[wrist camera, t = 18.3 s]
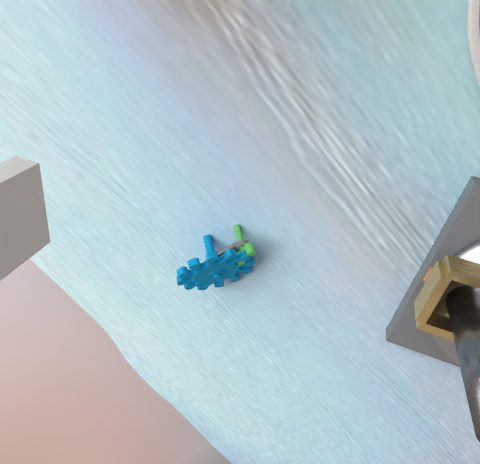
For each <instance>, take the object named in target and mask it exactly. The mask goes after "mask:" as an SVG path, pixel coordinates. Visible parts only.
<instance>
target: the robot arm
mask: <svg viewBox="0 0 480 464" xmlns="http://www.w3.org/2000/svg"><path fill="white" fill-rule="evenodd" d="M49 242H50V237H49V230H48V223H47V216H46V209H45V201H44V194H43V187H42V180H41V173H40V166H39V163H38V162H34V161H31V160H27V159H24V158H20V157H17V156H15V157H13V158H11V159H9V160H7V161H5V162H3V163H1V164H0V280H2V279H3V278H4V277H6V276H7V275H8V274H10V273H11V272H12V271H13V270H15V269H16V268H17V267H18V266H20V265H21V264H22V263H24V262H25V261H26V260H27V259H29V258H30V257H31V256H33V255H34V254H35V253H37V252H38V251H39V250H40V249H42V248H43V247H44V246H46V245H47V244H48V243H49ZM479 380H480V379H479Z"/></svg>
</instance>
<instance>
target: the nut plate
mask: <svg viewBox="0 0 480 464" xmlns="http://www.w3.org/2000/svg"><path fill="white" fill-rule="evenodd" d="M479 239H480V179H479V178H476V177H471V179H470V180H469V182H468V184H467V186H466V187H465V189H464V191H463V193H462V195H461V196H460V198H459V200H458V202H457V204H456V205H455V207H454V209H453V211H452V212H451V214H450V216H449V218H448V220H447V221H446V223H445V225H444V227H443V229H442V230H441V232H440V234H439V236H438V238H437V239H436V241H435V243H434V245H433V246H432V248H431V250H430V252H429V254H428V255H427V257H426V259H425V261H424V263H423V264H422V266H421V268H420V270H419V271H418V273H417V275H416V277H415V279H414V280H413V282H412V284H411V286H410V288H409V289H408V291H407V293H406V295H405V296H404V298H403V300H402V302H401V304H400V305H399V307H398V309H397V311H396V313H395V314H394V316H393V318H392V320H391V322H390V323H389V325H388V327H387V329H386V341H389V342H392V343H394V344H397V345H400V346H403V347H406V348H408V349H411V350H414V351H417V352H420V353H422V354H425V355H428V356H431V357H434V358H436V359H439V360H442V361H445V362H448V363H450V364H453V365H456V366H459V367H460V365H458V364H456V363H455V362H454V361H452V360H451V359H450V358H449V357H448V356H447V355H446V354H445V353H444V352H443V351H442V350H441V349H440V348H439V346H438V345H437V343H436V342H435V340H434V339H433V336H432V334H431V333H428V332H425V331H422V330H419V329H417V328H416V319H415V309H414V302H415V300H416V298H417V296H418V294H419V292H420V291H421V289H422V287H423V285H424V283H425V282H426V280H427V278H428V276H429V274H430V273H431V271H432V269H433V267H434V265H435V264H436V262H437V260H439V261H443V260H444V258H445V256H446V254H449V255H453V256H454V255H455V254H456V253H457V252H459V251H460V250H462V249H463V248H465V247H466V246H468V245H470V244H472V243H473V242H475V241H477V240H479Z"/></svg>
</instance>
